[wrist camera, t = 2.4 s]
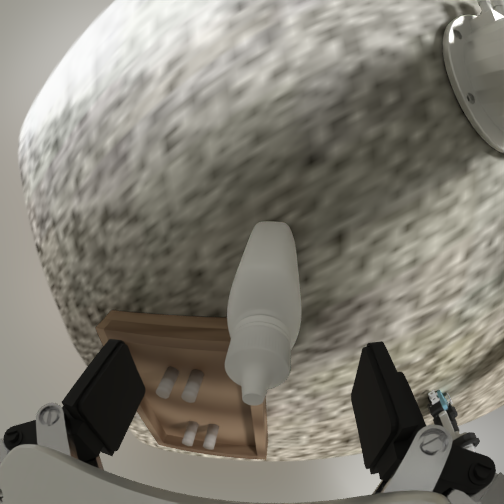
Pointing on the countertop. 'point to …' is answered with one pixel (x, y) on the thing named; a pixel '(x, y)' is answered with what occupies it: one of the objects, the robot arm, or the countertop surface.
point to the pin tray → (189, 384)
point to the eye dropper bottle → (264, 312)
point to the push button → (450, 420)
